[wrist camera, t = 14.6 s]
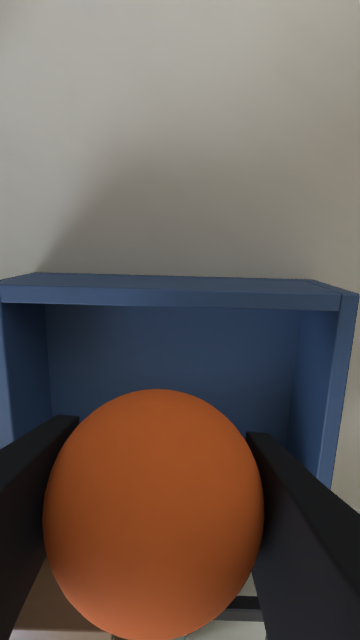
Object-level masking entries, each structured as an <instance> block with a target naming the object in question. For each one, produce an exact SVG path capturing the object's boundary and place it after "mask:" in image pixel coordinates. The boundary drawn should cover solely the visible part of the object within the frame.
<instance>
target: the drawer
mask: <svg viewBox="0 0 360 640" xmlns="http://www.w3.org/2000/svg"><path fill="white" fill-rule="evenodd" d="M213 620H226V621H258V622H264V620H263V616H262V612H261V608H260V604H259V600H258V596H236V597H235V598H234V599H233V601H232V602H231V603H230V604H229V605H228V606H227V607H226V609H225V610H224V611H223V612H222V613H221V614H219V615H218V616H217V617H216V618H215V619H213ZM185 639H186V635H185V636H182V637H179V638H175V639H171V640H185ZM9 640H129V639H125V638H121V637H118V636H116V635H113V634H110V633H108V632H106V631H104V630H102V629H100V628H98V627H97V626H95V625H94V624H92V623H91V622H90V621H88V620H87V619H86V618H85V617H84V616H83V615H82V614H81V613H80V612H79V611H78V610H77V609H76V608H75V607H74V606H73V605H72V604H71V603H70V602H69V600H68V599H67V598H66V596H65V595H64V593H63V592H62V590H61V588H60V586H59V584H58V583H57V581H56V579H55V577H54V575H53V572H52V570H51V567H50V564H49V561H48V558H47V556H46V558H45V560H44V562H43V565H42V567H41V569H40V571H39V573H38V575H37V577H36V579H35V582H34V584H33V586H32V588H31V590H30V592H29V594H28V596H27V598H26V601H25V603H24V605H23V607H22V609H21V612H20V614H19V616H18V619H17V621H16V623H15V626H14V628H13V631H12V633H11V636H10V638H9ZM265 640H268V639H267V634H266V639H265Z"/></svg>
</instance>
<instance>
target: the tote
mask: <svg viewBox="0 0 360 640" xmlns="http://www.w3.org/2000/svg"><path fill="white" fill-rule="evenodd" d="M358 303H359V294H357V293H354V292H351V291H347V290H344V289H341V288H338V287H335V286H331V285H328V284H325V283H322V282H319V281H316V280H306V279H267V278H229V277H191V276H153V275H115V274H77V273H39V272H34V273H30V274H25V275H21V276H16V277H12V278H7V279H3V280H0V449H2V448H4V447H5V446H7V445H8V444H10V443H12V442H13V441H15V440H17V439H18V438H20V437H21V436H23V435H25V434H26V433H28V432H29V431H31V430H33V429H34V428H36V427H37V426H39V425H41V424H42V423H44V422H45V421H47V420H49V419H50V418H52V417H54V416H56V415H58V414H60V415H71V416H79V424H80V423H81V422H82V421H83V420H84V419H85V418H87V417H88V416H89V415H90V414H91V413H92V412H93V411H95V410H96V409H97V408H99V407H101V406H102V405H104V404H105V403H107V402H109V401H111V400H113V399H115V398H117V397H119V396H122V395H125V394H128V393H131V392H135V391H140V390H148V389H168V390H174V391H180V392H183V393H187V394H190V395H193V396H195V397H197V398H199V399H202V400H204V401H205V402H207V403H209V404H210V405H212V406H213V407H215V408H216V409H217V410H218V411H220V412H221V413H222V414H223V415H225V416H226V417H227V418H228V419H229V420H230V421H231V422H232V423H233V424H234V425H235V427H236V428H237V430H238V431H239V432H240V434H241V435H242V437H243V438H244V439H245V437H246V431H251V432H262V433H269V434H270V435H271V436H272V437H273V438H274V439H275V440H276V441H278V442H279V443H280V444H281V445H282V446H283V447H284V448H285V449H286V450H287V451H288V452H289V453H290V454H291V455H292V456H293V457H294V458H295V459H296V460H298V461H299V462H300V463H301V464H302V465H303V466H304V467H305V468H306V469H307V470H308V471H309V472H310V473H312V474H313V475H314V476H315V477H316V478H317V479H318V480H319V481H320V482H322V483H323V484H324V485H325V486H326V487H327V488H328V489H330V490H331V483H332V476H333V470H334V463H335V456H336V450H337V443H338V436H339V430H340V423H341V416H342V410H343V403H344V396H345V390H346V383H347V376H348V370H349V363H350V356H351V350H352V343H353V336H354V330H355V323H356V316H357V310H358Z"/></svg>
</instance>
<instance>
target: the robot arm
mask: <svg viewBox="0 0 360 640" xmlns="http://www.w3.org/2000/svg"><path fill="white" fill-rule="evenodd" d="M78 425H79V416H71V415H60V414H58V415H56V416H54V417H52V418H50V419H49V420H47V421H45V422H44V423H42V424H41V425H39V426H37V427H36V428H34V429H33V430H31V431H29V432H28V433H26V434H25V435H23V436H21V437H20V438H18V439H17V440H15V441H13V442H12V443H10V444H8V445H7V446H5V447H4V448H2V449H0V640H9V638H10V636H11V633H12V631H13V628H14V626H15V623H16V621H17V619H18V616H19V614H20V612H21V609H22V607H23V605H24V603H25V601H26V598H27V596H28V594H29V592H30V590H31V588H32V586H33V584H34V582H35V579H36V577H37V575H38V573H39V571H40V569H41V567H42V565H43V562H44V560H45V558H46V556H47V554H46V550H45V545H44V538H43V525H42V514H43V503H44V494H45V490H46V487H47V483H48V479H49V475H50V471H51V469H52V467H53V465H54V462H55V460H56V458H57V456H58V454H59V452H60V450H61V448H62V447H63V445H64V443H65V442H66V440H67V439H68V438H69V436H70V435H71V433H72V432H73V431H74V430H75V429H76V427H77V426H78ZM245 441H246V442H247V444H248V446H249V448H250V450H251V452H252V454H253V457H254V459H255V461H256V464H257V467H258V470H259V473H260V478H261V482H262V488H263V494H264V515H265V518H264V526H263V534H262V541H261V545H260V548H259V552H258V555H257V558H256V561H255V564H254V566H253V569H252V571H251V572H252V576H253V580H254V584H255V588H256V592H257V596H258V600H259V604H260V608H261V612H262V616H263V620H264V624H265V629H266V634H267V639H268V640H360V514H359V513H358V512H356V511H355V510H354V509H352V508H351V507H350V506H349V505H348V504H346V503H345V502H344V501H343V500H342V499H340V498H339V497H338V496H337V495H336V494H334V493H333V492H332V491H331V490H330V489H328V488H327V487H326V486H325V485H324V484H323V483H322V482H320V481H319V480H318V479H317V478H316V477H315V476H314V475H313V474H312V473H310V472H309V471H308V470H307V469H306V468H305V467H304V466H303V465H302V464H301V463H300V462H299V461H298V460H296V459H295V458H294V457H293V456H292V455H291V454H290V453H289V452H288V451H287V450H286V449H285V448H284V447H283V446H282V445H281V444H280V443H279V442H278V441H276V440H275V439H274V438H273V437H272V436H271V435H270V434H269V433H262V432H251V431H246V437H245Z"/></svg>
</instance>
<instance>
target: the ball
mask: <svg viewBox="0 0 360 640" xmlns="http://www.w3.org/2000/svg"><path fill="white" fill-rule="evenodd" d="M264 518H265V515H264V494H263V488H262V482H261V478H260V473H259V470H258V467H257V464H256V461H255V459H254V457H253V454H252V452H251V450H250V448H249V446H248V444H247V442H246V441H245V439H244V438H243V437H242V435H241V434H240V432H239V431H238V430H237V428H236V427H235V425H234V424H233V423H232V422H231V421H230V420H229V419H228V418H227V417H226V416H225V415H223V414H222V413H221V412H220V411H218V410H217V409H216V408H215V407H213V406H212V405H210V404H209V403H207V402H205V401H204V400H202V399H199V398H197V397H195V396H193V395H190V394H187V393H183V392H180V391H174V390H168V389H148V390H140V391H135V392H131V393H128V394H125V395H122V396H119V397H117V398H115V399H113V400H111V401H109V402H107V403H105V404H104V405H102V406H101V407H99V408H97V409H96V410H95V411H93V412H92V413H91V414H90V415H89V416H88V417H87V418H85V419H84V420H83V421H82V422H81V423H80V424H79V425H78V426H77V427H76V429H75V430H74V431H73V432H72V433H71V435H70V436H69V438H68V439H67V440H66V442H65V443H64V445H63V447H62V448H61V450H60V452H59V454H58V456H57V458H56V460H55V462H54V465H53V467H52V469H51V471H50V475H49V479H48V483H47V487H46V490H45V494H44V503H43V514H42V525H43V538H44V545H45V550H46V554H47V558H48V561H49V564H50V567H51V570H52V572H53V575H54V577H55V579H56V581H57V583H58V584H59V586H60V588H61V590H62V592H63V593H64V595H65V596H66V598H67V599H68V600H69V602H70V603H71V604H72V605H73V606H74V607H75V608H76V609H77V610H78V611H79V612H80V613H81V614H82V615H83V616H84V617H85V618H86V619H87V620H88V621H90V622H91V623H92V624H94V625H95V626H97V627H98V628H100V629H102V630H104V631H106V632H108V633H110V634H113V635H116V636H118V637H121V638H125V639H129V640H171V639H175V638H179V637H182V636H185V635H187V634H190V633H192V632H194V631H196V630H198V629H200V628H201V627H203V626H204V625H206V624H207V623H209V622H210V621H212V620H213V619H215V618H216V617H217V616H218V615H219V614H221V613H222V612H223V611H224V610H225V609H226V607H227V606H228V605H229V604H230V603H231V602H232V601H233V599H234V598H235V597H236V596H237V595H238V593H239V592H240V590H241V589H242V587H243V586H244V584H245V582H246V580H247V579H248V577H249V575H250V573H251V571H252V569H253V566H254V564H255V561H256V558H257V555H258V552H259V548H260V545H261V541H262V534H263V526H264Z"/></svg>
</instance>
